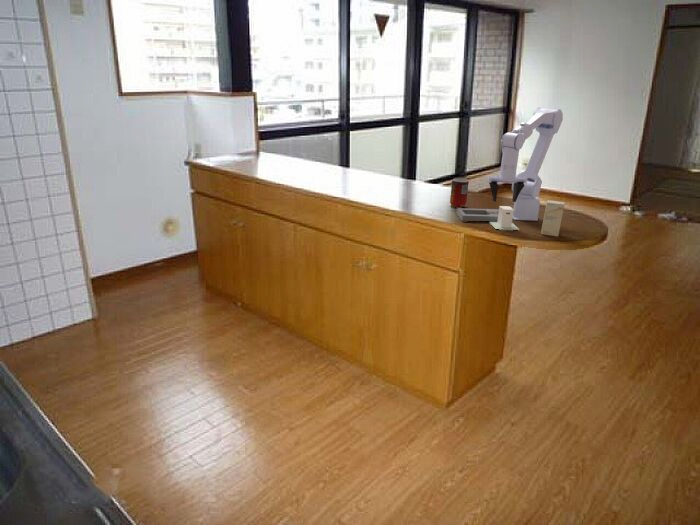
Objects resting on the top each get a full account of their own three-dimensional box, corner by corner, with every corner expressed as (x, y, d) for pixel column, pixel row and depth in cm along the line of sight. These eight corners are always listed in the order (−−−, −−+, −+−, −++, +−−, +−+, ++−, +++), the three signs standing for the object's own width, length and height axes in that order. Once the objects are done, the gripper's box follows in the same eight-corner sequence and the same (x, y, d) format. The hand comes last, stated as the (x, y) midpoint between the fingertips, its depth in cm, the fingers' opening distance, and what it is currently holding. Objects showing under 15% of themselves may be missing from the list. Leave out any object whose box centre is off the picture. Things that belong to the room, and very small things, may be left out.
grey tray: (502, 215, 212) (502, 208, 211) (509, 222, 202) (510, 215, 201) (456, 213, 212) (457, 206, 211) (461, 221, 202) (462, 214, 201)
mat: (512, 223, 201) (512, 222, 200) (519, 230, 192) (519, 229, 192) (489, 223, 200) (489, 221, 200) (495, 230, 192) (495, 228, 192)
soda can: (469, 206, 224) (472, 178, 219) (459, 209, 219) (462, 181, 215) (455, 203, 228) (458, 176, 224) (446, 206, 224) (448, 178, 219)
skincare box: (540, 234, 189) (546, 202, 184) (541, 231, 192) (546, 199, 188) (558, 236, 187) (564, 204, 182) (558, 233, 190) (564, 201, 186)
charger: (507, 223, 199) (509, 206, 196) (511, 227, 194) (513, 209, 191) (497, 223, 198) (499, 206, 196) (500, 227, 194) (503, 209, 191)
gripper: (492, 167, 187) (488, 203, 192) (531, 168, 187) (526, 204, 192) (487, 163, 194) (483, 198, 198) (525, 164, 194) (520, 199, 199)
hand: (504, 201), depth 196 cm, fingers open, 7 cm apart
